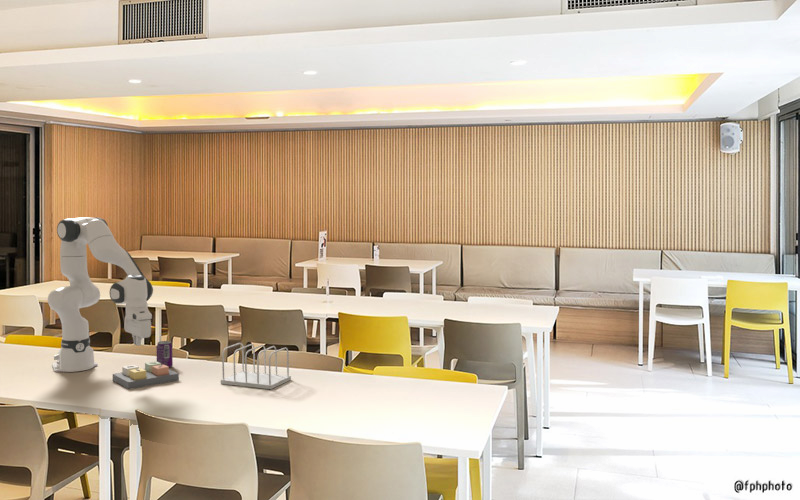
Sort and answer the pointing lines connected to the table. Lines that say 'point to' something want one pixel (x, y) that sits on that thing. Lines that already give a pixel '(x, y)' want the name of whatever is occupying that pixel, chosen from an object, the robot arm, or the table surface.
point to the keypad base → (144, 379)
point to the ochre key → (137, 374)
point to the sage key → (149, 365)
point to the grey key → (126, 369)
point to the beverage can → (164, 353)
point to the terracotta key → (160, 370)
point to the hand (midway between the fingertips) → (137, 345)
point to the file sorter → (257, 378)
